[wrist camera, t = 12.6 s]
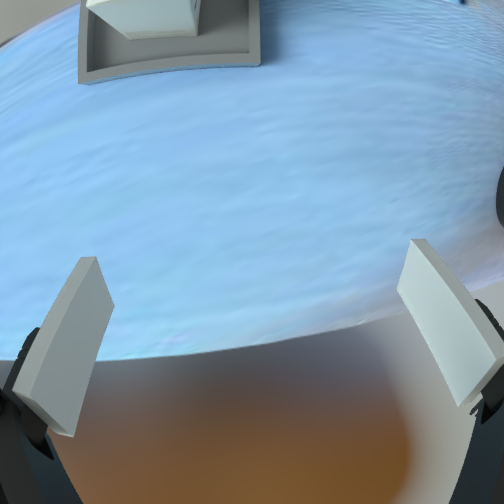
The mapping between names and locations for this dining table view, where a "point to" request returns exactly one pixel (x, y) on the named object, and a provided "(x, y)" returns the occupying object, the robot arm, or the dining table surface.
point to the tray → (171, 44)
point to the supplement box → (149, 17)
